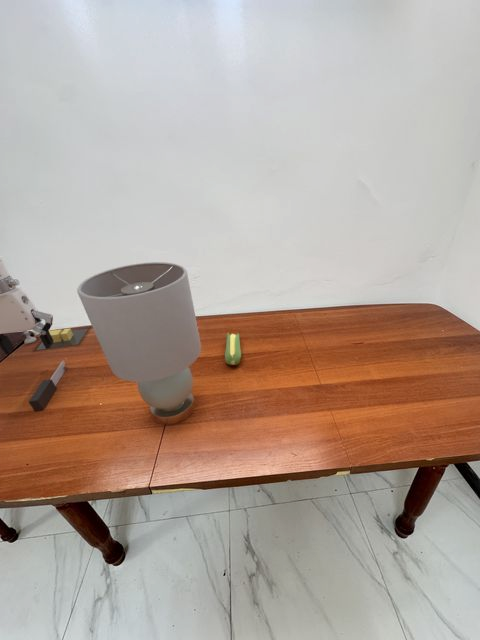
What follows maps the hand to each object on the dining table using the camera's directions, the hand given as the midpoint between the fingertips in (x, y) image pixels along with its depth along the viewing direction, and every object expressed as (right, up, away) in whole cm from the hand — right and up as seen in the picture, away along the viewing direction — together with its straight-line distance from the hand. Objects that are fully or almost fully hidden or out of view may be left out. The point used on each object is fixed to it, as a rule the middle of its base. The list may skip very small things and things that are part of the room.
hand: (30, 348), depth 78 cm
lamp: (+38, -16, -1) cm, 42 cm away
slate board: (-12, +3, +32) cm, 34 cm away
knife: (0, -11, +9) cm, 15 cm away
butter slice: (-10, +4, +31) cm, 33 cm away
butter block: (-15, +3, +30) cm, 34 cm away
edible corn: (+52, -1, +20) cm, 56 cm away
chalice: (-24, +2, +32) cm, 40 cm away
